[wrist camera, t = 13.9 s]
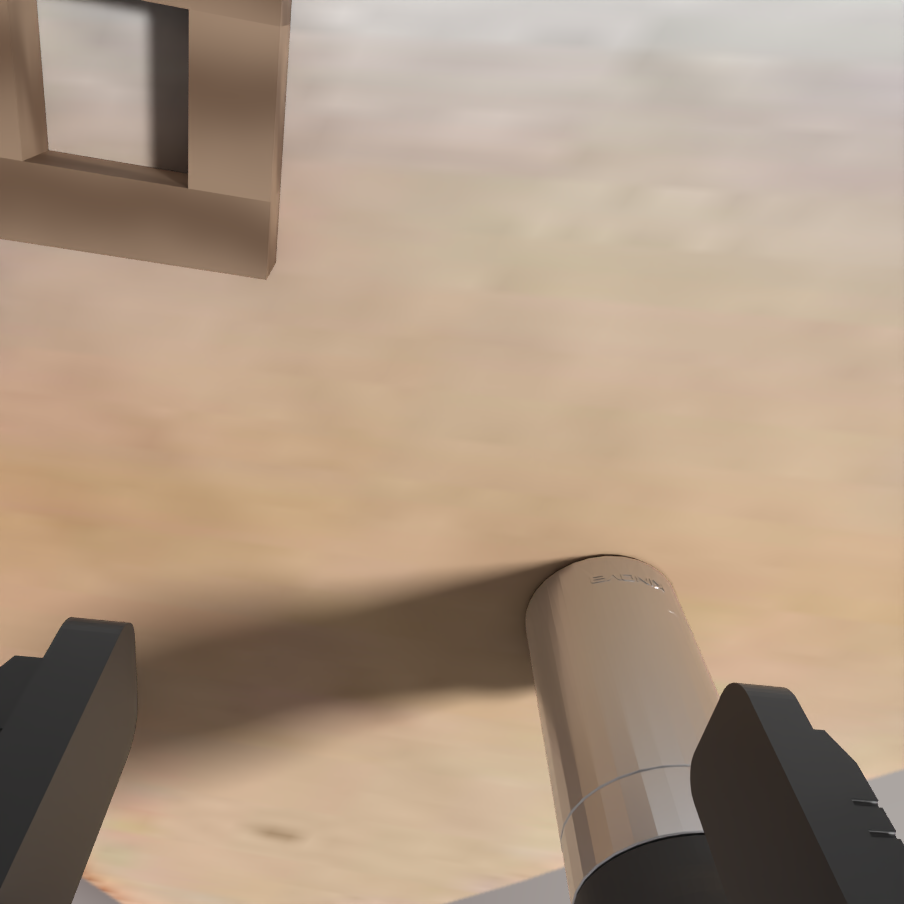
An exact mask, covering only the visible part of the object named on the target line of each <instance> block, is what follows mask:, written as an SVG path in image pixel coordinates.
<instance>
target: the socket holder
mask: <svg viewBox="0 0 904 904" xmlns="http://www.w3.org/2000/svg"><path fill="white" fill-rule="evenodd" d="M143 1H148V2H153V3H158V4H164V5H169V6H174V7H179V8H185V9H189V83H188V174H187V173H181V172H175V171H169V170H163V169H157V168H151V167H145V166H139V165H133V164H127V163H121V162H115V161H109V160H103V159H97V158H91V157H85V156H79V155H73V154H67V153H61V152H55V151H49V150H48V138H47V125H46V113H45V100H44V88H43V75H42V63H41V51H40V38H39V26H38V13H37V1H36V0H0V239H5V240H12V241H18V242H25V243H31V244H38V245H44V246H51V247H57V248H63V249H70V250H76V251H83V252H89V253H96V254H102V255H109V256H115V257H122V258H128V259H135V260H141V261H148V262H154V263H161V264H167V265H174V266H180V267H187V268H193V269H200V270H206V271H213V272H219V273H226V274H232V275H239V276H245V277H252V278H258V279H265V280H266V279H267V278H268V276H269V274H270V272H271V270H272V268H273V267H274V265H275V263H276V250H277V233H278V217H279V200H280V184H281V168H282V151H283V135H284V118H285V102H286V85H287V69H288V52H289V36H290V20H291V3H292V0H143Z"/></svg>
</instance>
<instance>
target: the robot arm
mask: <svg viewBox="0 0 904 904" xmlns="http://www.w3.org/2000/svg"><path fill="white" fill-rule="evenodd" d="M525 628H526V634H527V640H528V646H529V652H530V658H531V664H532V671H533V678H534V684H535V690H536V696H537V702H538V708H539V714H540V721H541V727H542V733H543V739H544V745H545V751H546V757H547V763H548V769H549V775H550V781H551V787H552V794H553V800H554V806H555V812H556V818H557V824H558V830H559V836H560V842H561V848H562V852H563V858H564V865H565V871H566V877H567V883H568V888H569V895H570V901H571V904H904V844H903V843H902V841H901V839H897V838H896V836H895V832H896V830H895V829H894V827H893V825H892V824H891V822H890V820H889V818H888V817H887V815H886V813H885V812H884V810H883V808H879V807H878V799H877V798H876V796H875V794H874V792H873V791H872V789H871V787H870V785H869V784H868V782H867V780H866V779H865V777H864V775H863V773H862V772H861V770H860V768H859V766H858V765H857V763H856V762H855V761H854V760H853V759H852V758H851V757H850V756H849V755H848V754H847V753H846V752H845V751H844V750H843V749H842V748H841V747H840V746H839V745H838V744H837V743H836V742H835V741H834V740H833V739H832V738H831V737H830V736H829V735H828V734H827V733H826V732H825V730H815V729H813V728H812V726H811V724H810V722H809V720H808V719H807V717H806V715H805V713H804V711H803V709H802V708H801V706H800V704H799V702H798V700H797V699H796V697H795V695H794V694H793V693H792V692H791V691H790V690H788V689H786V688H784V687H773V686H763V685H752V684H742V683H731V684H729V685H728V686H726V688H725V689H724V691H723V692H722V694H721V696H719V694H718V692H717V689H716V687H715V685H714V682H713V680H712V678H711V675H710V673H709V670H708V668H707V666H706V663H705V661H704V659H703V656H702V654H701V652H700V649H699V647H698V645H697V642H696V640H695V637H694V635H693V632H692V630H691V628H690V625H689V623H688V621H687V619H686V616H685V614H684V612H683V609H682V607H681V605H680V602H679V600H678V598H677V596H676V593H675V591H674V589H673V586H672V584H671V583H670V582H669V580H668V579H667V578H666V577H665V576H664V574H662V573H661V572H660V571H658V570H657V569H656V568H654V567H653V566H651V565H649V564H647V563H644V562H642V561H640V560H636V559H632V558H627V557H621V556H602V557H595V558H588V559H585V560H582V561H579V562H575V563H572V564H570V565H568V566H566V567H564V568H562V569H560V570H558V571H557V572H556V573H554V574H553V575H552V576H550V577H549V578H548V579H546V580H545V581H544V582H543V583H542V584H541V586H540V587H539V588H538V589H537V590H536V591H535V593H534V595H533V596H532V598H531V600H530V602H529V604H528V608H527V611H526V615H525ZM137 710H138V699H137V676H136V653H135V633H134V627H133V625H132V624H131V623H126V622H116V621H105V620H95V619H85V618H74V617H70V618H68V619H67V620H66V621H65V622H64V623H63V624H62V626H61V628H60V629H59V631H58V633H57V634H56V636H55V638H54V640H53V641H52V643H51V645H50V647H49V648H48V650H47V652H46V654H45V655H44V657H43V658H36V657H25V656H14V657H12V658H11V659H10V660H9V661H7V662H6V663H5V664H4V665H2V666H1V667H0V904H71V903H72V900H73V898H74V895H75V893H76V890H77V887H78V885H79V882H80V880H81V877H82V875H83V872H84V869H85V867H86V864H87V861H88V859H89V856H90V854H91V851H92V848H93V846H94V843H95V841H96V838H97V835H98V833H99V830H100V828H101V825H102V822H103V820H104V817H105V815H106V812H107V809H108V807H109V804H110V802H111V799H112V796H113V794H114V791H115V789H116V786H117V783H118V781H119V778H120V776H121V773H122V770H123V768H124V765H125V763H126V760H127V757H128V754H129V751H130V748H131V745H132V741H133V737H134V732H135V727H136V721H137Z"/></svg>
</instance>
